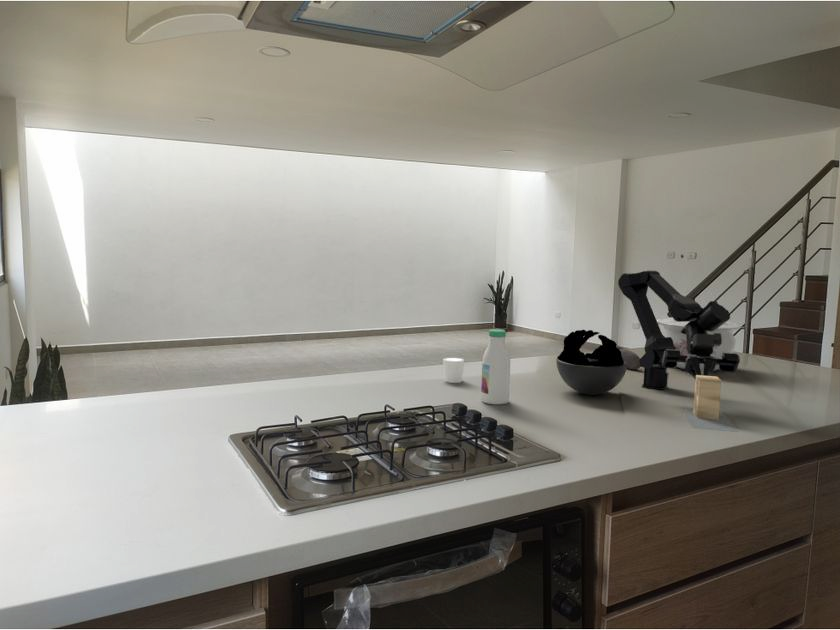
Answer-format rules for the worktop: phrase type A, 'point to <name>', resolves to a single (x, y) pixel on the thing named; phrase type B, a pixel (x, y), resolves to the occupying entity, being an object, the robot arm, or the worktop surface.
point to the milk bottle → (496, 370)
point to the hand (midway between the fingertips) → (702, 386)
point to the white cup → (453, 369)
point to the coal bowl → (590, 364)
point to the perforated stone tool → (630, 359)
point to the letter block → (707, 397)
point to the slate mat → (710, 422)
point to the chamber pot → (726, 330)
